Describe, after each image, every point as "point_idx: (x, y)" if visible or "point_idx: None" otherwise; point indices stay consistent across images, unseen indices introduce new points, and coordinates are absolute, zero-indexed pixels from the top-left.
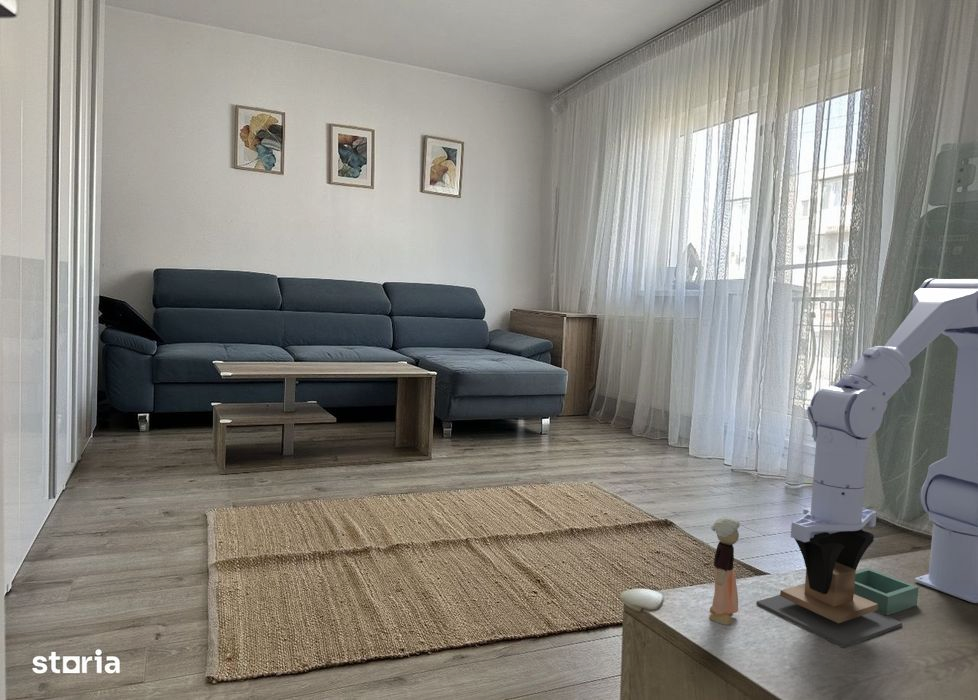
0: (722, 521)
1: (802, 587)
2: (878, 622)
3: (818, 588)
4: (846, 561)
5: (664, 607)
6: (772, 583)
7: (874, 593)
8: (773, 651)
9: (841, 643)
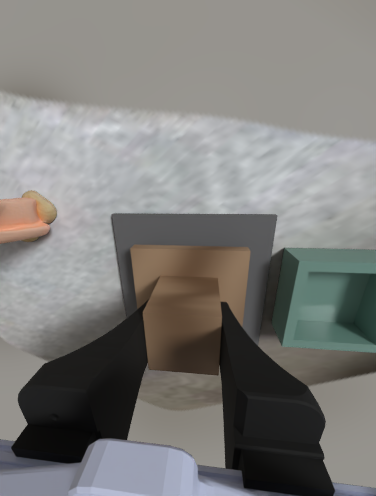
0: None
1: (180, 258)
2: None
3: None
4: (222, 367)
5: None
6: (218, 160)
7: (284, 324)
8: (46, 304)
9: None
